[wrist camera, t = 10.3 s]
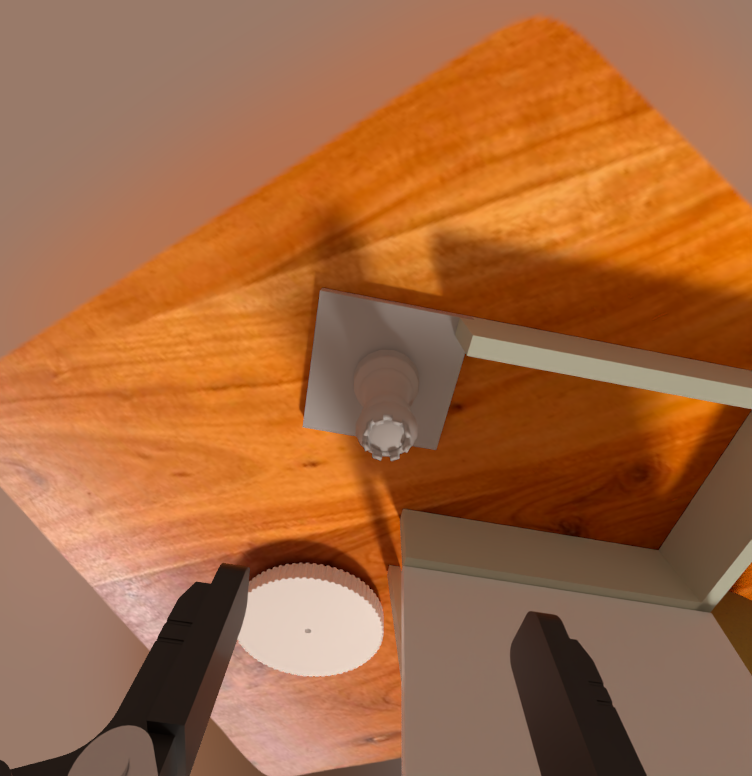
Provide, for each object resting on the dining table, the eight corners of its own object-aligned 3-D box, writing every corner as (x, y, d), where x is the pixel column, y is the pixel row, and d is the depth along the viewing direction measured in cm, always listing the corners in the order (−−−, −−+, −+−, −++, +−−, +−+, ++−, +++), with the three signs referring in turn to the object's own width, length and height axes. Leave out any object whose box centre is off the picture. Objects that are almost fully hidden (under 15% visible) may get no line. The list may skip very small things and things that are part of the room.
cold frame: (788, 377, 27) (1078, 493, 16) (630, 608, 37) (738, 781, 26) (456, 313, 26) (513, 390, 14) (385, 571, 36) (385, 736, 24)
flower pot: (638, 584, 35) (714, 695, 27) (741, 565, 34) (854, 676, 26) (641, 643, 39) (709, 758, 31) (734, 628, 38) (832, 743, 29)
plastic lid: (310, 529, 34) (305, 552, 32) (412, 610, 38) (414, 636, 36) (212, 600, 38) (201, 625, 36) (313, 667, 42) (309, 693, 40)
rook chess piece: (359, 411, 27) (351, 482, 20) (347, 352, 26) (333, 406, 18) (422, 402, 27) (436, 471, 20) (414, 342, 25) (426, 393, 18)
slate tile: (471, 316, 26) (474, 320, 25) (434, 442, 30) (436, 450, 29) (322, 287, 25) (320, 290, 24) (305, 420, 29) (302, 427, 28)
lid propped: (709, 611, 29) (1111, 1099, 13) (683, 643, 31) (1013, 1114, 15) (403, 564, 28) (430, 1045, 12) (392, 599, 30) (402, 1068, 13)
